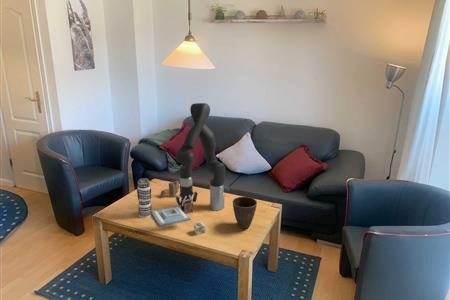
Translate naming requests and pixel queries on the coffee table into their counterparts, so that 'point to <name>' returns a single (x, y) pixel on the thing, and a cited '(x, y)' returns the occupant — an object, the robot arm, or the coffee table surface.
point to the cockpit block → (199, 228)
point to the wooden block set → (171, 189)
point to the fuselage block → (188, 207)
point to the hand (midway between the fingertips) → (187, 209)
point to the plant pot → (244, 210)
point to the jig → (170, 216)
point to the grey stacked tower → (144, 198)
